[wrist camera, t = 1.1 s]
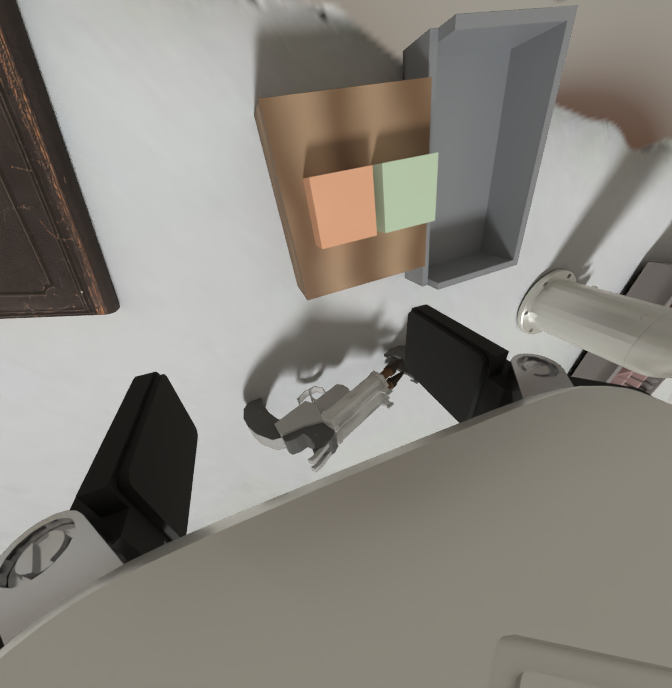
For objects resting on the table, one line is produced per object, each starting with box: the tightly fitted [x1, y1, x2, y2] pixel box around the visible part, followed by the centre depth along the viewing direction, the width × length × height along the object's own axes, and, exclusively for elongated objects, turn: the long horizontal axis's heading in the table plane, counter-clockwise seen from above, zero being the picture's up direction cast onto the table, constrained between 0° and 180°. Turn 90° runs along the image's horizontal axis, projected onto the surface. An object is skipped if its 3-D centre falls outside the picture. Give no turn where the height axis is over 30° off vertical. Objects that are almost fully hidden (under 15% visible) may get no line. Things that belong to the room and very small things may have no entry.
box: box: [403, 5, 578, 289], centre depth 29 cm, size 13×22×6 cm, turn 10°
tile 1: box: [372, 152, 439, 233], centre depth 24 cm, size 6×6×2 cm
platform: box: [254, 77, 432, 300], centre depth 26 cm, size 15×16×5 cm
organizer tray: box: [571, 262, 672, 395], centre depth 63 cm, size 32×40×10 cm
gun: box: [244, 346, 418, 472], centre depth 39 cm, size 5×27×15 cm, turn 100°
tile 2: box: [303, 165, 377, 249], centre depth 23 cm, size 6×6×2 cm
